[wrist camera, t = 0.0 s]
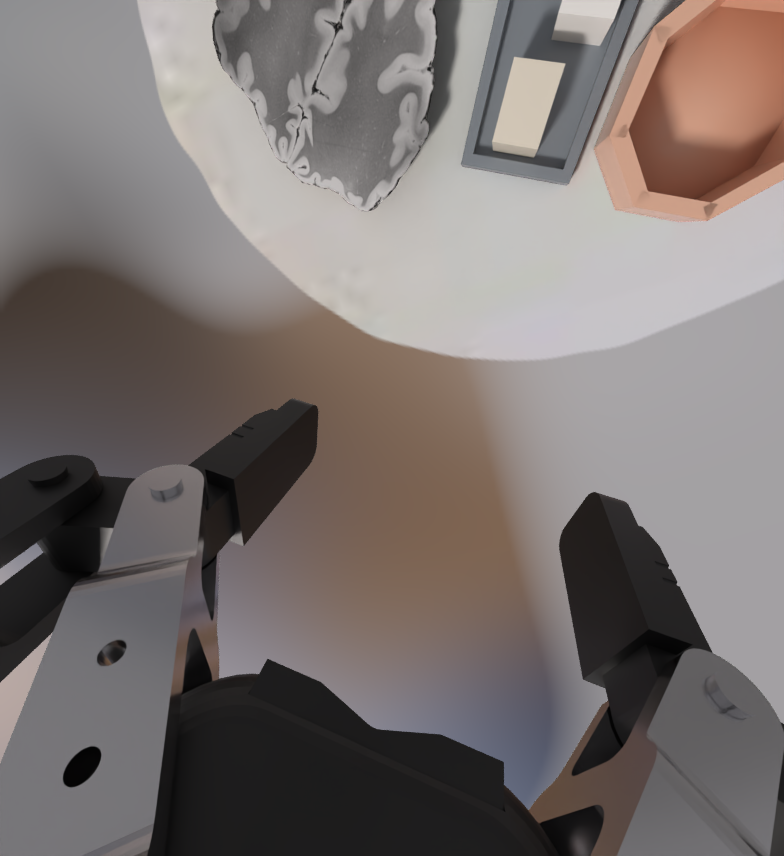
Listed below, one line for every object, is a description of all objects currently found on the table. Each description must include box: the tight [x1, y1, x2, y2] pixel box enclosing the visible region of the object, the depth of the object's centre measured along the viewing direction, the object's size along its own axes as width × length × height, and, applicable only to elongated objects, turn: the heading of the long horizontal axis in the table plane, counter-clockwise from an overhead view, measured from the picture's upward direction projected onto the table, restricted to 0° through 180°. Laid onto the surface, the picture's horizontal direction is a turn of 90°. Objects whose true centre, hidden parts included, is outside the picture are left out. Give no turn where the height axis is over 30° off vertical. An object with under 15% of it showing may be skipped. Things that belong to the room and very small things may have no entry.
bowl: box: [594, 0, 784, 222], centre depth 22 cm, size 12×12×5 cm
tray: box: [461, 0, 639, 185], centre depth 24 cm, size 14×9×1 cm, turn 170°
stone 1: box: [492, 57, 565, 158], centre depth 24 cm, size 4×3×4 cm
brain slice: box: [212, 0, 437, 212], centre depth 27 cm, size 20×17×3 cm
